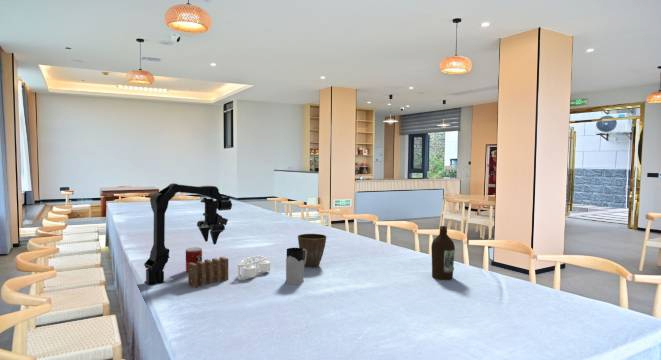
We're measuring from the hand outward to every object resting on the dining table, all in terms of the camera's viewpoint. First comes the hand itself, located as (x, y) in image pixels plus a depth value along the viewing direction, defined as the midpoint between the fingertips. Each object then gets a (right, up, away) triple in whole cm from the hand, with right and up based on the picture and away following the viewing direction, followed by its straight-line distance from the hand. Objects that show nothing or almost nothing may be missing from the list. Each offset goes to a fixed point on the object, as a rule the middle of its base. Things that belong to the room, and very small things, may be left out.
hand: (210, 242), depth 200 cm
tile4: (+7, -15, -15) cm, 23 cm away
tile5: (+10, -15, -13) cm, 22 cm away
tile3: (+5, -15, -18) cm, 24 cm away
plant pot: (+49, -14, +12) cm, 53 cm away
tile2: (+2, -15, -21) cm, 26 cm away
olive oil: (+112, -16, -8) cm, 113 cm away
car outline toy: (+22, -15, -5) cm, 27 cm away
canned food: (-9, -14, +1) cm, 17 cm away
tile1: (-1, -15, -24) cm, 28 cm away
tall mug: (+44, -15, -13) cm, 49 cm away
